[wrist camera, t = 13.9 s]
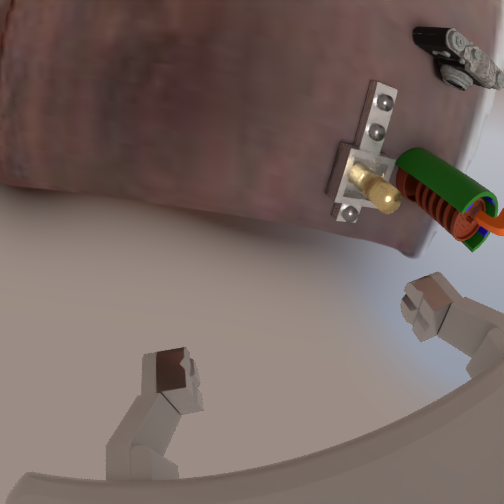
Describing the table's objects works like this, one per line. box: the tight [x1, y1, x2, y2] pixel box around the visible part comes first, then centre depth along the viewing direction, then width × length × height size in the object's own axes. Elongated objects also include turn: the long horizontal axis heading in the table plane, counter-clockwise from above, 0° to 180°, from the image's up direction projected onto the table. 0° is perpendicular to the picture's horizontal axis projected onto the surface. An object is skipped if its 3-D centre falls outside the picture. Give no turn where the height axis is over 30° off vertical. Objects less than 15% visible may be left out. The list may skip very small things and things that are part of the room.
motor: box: [395, 148, 504, 252], centre depth 36 cm, size 10×9×20 cm
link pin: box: [348, 163, 402, 214], centre depth 38 cm, size 4×4×9 cm
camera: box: [412, 27, 504, 91], centre depth 29 cm, size 15×7×10 cm, turn 75°
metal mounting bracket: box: [326, 81, 398, 223], centre depth 39 cm, size 22×8×3 cm, turn 169°
